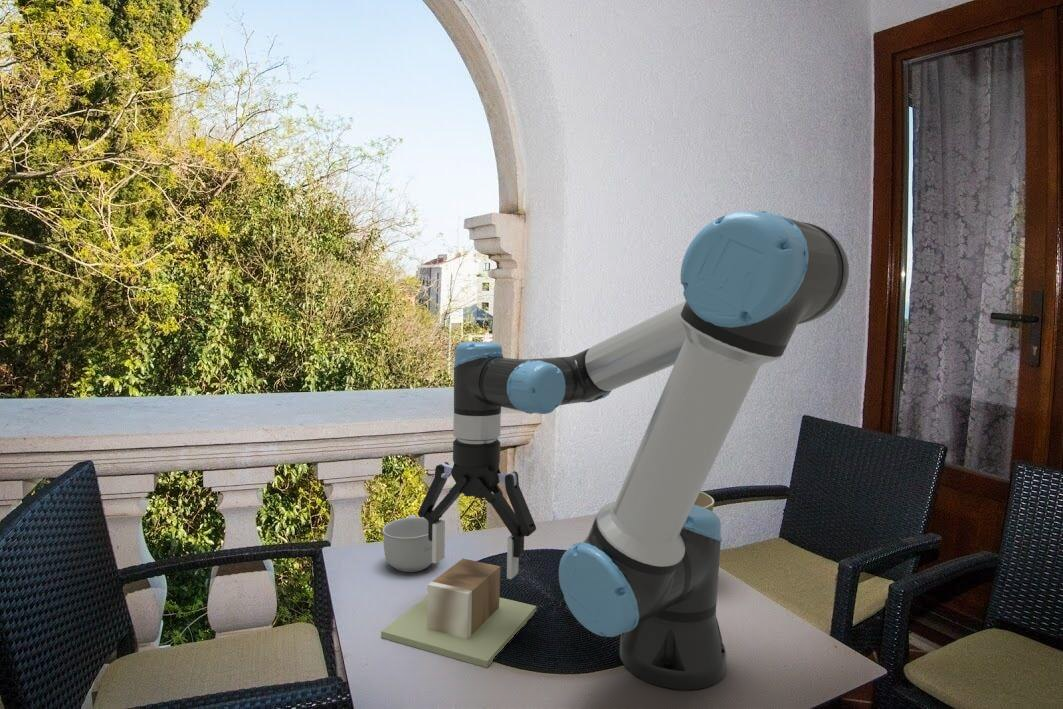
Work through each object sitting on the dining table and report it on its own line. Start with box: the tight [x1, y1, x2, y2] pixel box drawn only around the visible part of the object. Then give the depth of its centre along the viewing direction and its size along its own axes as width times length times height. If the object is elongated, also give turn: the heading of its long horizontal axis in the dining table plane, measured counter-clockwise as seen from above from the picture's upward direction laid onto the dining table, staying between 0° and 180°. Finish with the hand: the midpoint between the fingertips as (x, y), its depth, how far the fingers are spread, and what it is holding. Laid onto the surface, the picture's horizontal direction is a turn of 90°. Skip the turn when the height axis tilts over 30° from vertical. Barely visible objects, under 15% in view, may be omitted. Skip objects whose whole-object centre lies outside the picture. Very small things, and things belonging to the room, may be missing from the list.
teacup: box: [381, 514, 433, 573], centre depth 124 cm, size 14×11×8 cm
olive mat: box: [380, 595, 537, 668], centre depth 102 cm, size 18×18×1 cm
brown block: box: [427, 558, 501, 639], centre depth 101 cm, size 7×7×11 cm
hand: (474, 568), depth 104 cm, fingers open, 13 cm apart
